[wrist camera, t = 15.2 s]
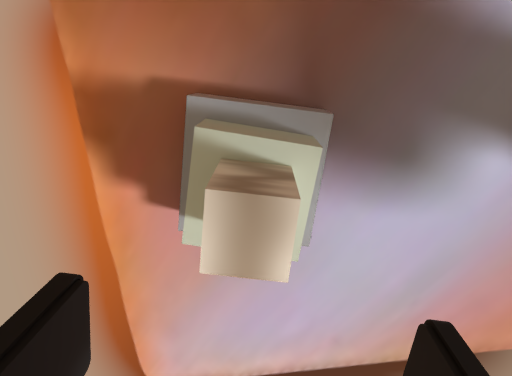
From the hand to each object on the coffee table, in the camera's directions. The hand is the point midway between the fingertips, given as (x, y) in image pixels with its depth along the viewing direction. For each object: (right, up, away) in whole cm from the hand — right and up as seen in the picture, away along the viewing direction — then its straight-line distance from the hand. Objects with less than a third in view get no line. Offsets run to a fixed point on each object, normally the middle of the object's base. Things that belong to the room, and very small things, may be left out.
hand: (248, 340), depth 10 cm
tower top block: (0, +5, +21) cm, 21 cm away
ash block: (0, +4, +16) cm, 16 cm away
